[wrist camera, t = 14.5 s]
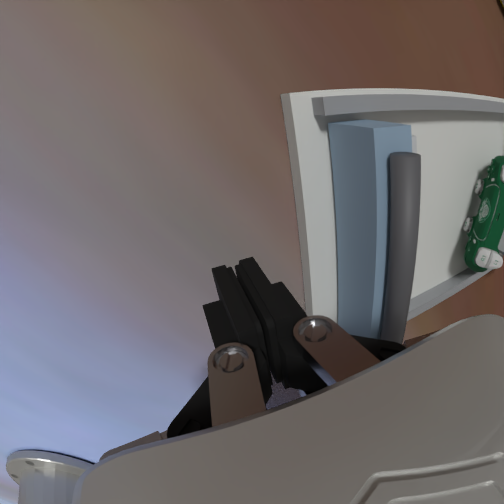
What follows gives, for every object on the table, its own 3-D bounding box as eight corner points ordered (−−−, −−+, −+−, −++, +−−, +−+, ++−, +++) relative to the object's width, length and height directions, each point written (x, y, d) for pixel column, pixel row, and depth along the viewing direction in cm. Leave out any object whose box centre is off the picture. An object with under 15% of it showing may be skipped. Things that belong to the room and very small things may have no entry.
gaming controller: (476, 148, 19) (496, 140, 14) (514, 165, 17) (541, 163, 12) (446, 253, 22) (457, 275, 17) (482, 268, 21) (500, 294, 16)
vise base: (495, 251, 24) (527, 270, 20) (308, 344, 20) (341, 392, 16) (506, 99, 17) (547, 108, 13) (280, 94, 13) (333, 88, 9)
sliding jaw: (371, 317, 19) (413, 359, 15) (338, 331, 18) (377, 379, 14) (371, 118, 13) (441, 128, 9) (327, 122, 13) (395, 131, 9)
